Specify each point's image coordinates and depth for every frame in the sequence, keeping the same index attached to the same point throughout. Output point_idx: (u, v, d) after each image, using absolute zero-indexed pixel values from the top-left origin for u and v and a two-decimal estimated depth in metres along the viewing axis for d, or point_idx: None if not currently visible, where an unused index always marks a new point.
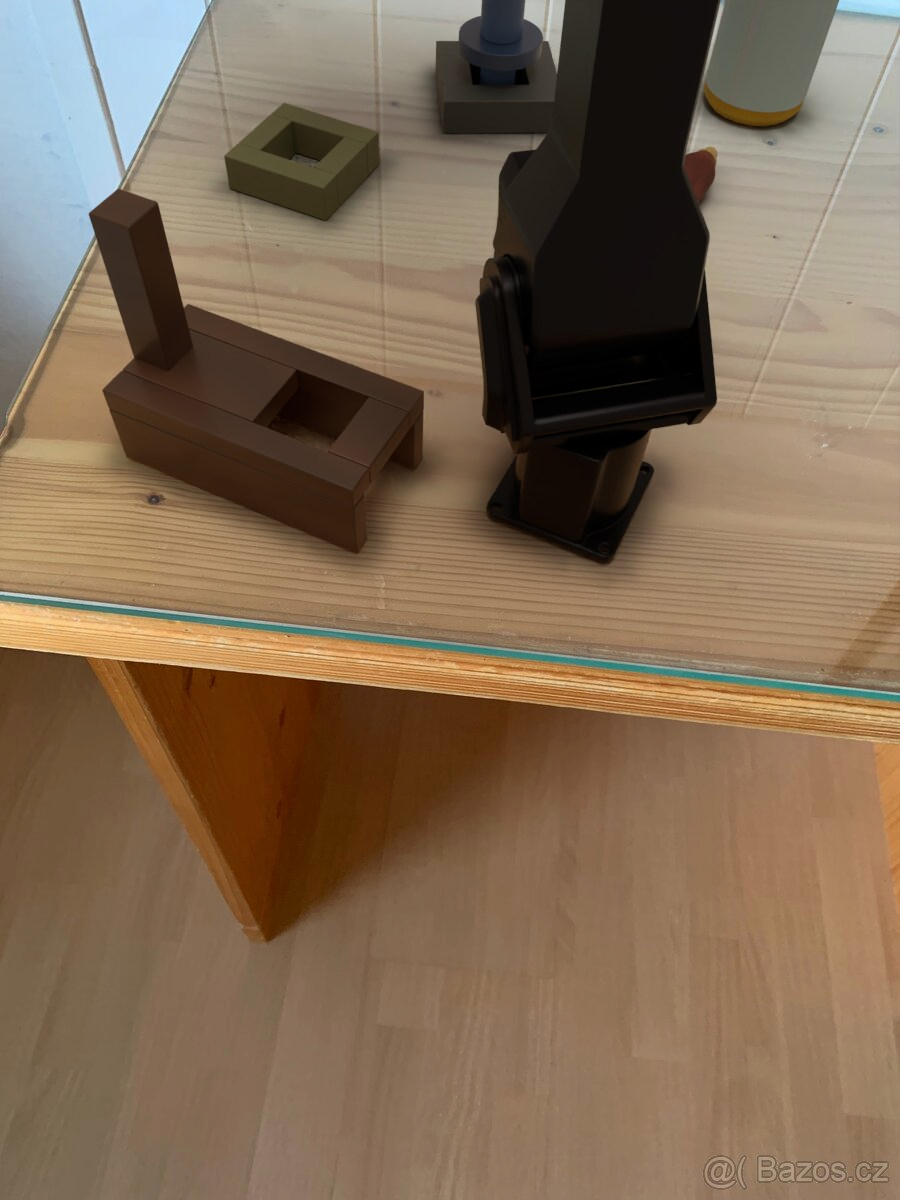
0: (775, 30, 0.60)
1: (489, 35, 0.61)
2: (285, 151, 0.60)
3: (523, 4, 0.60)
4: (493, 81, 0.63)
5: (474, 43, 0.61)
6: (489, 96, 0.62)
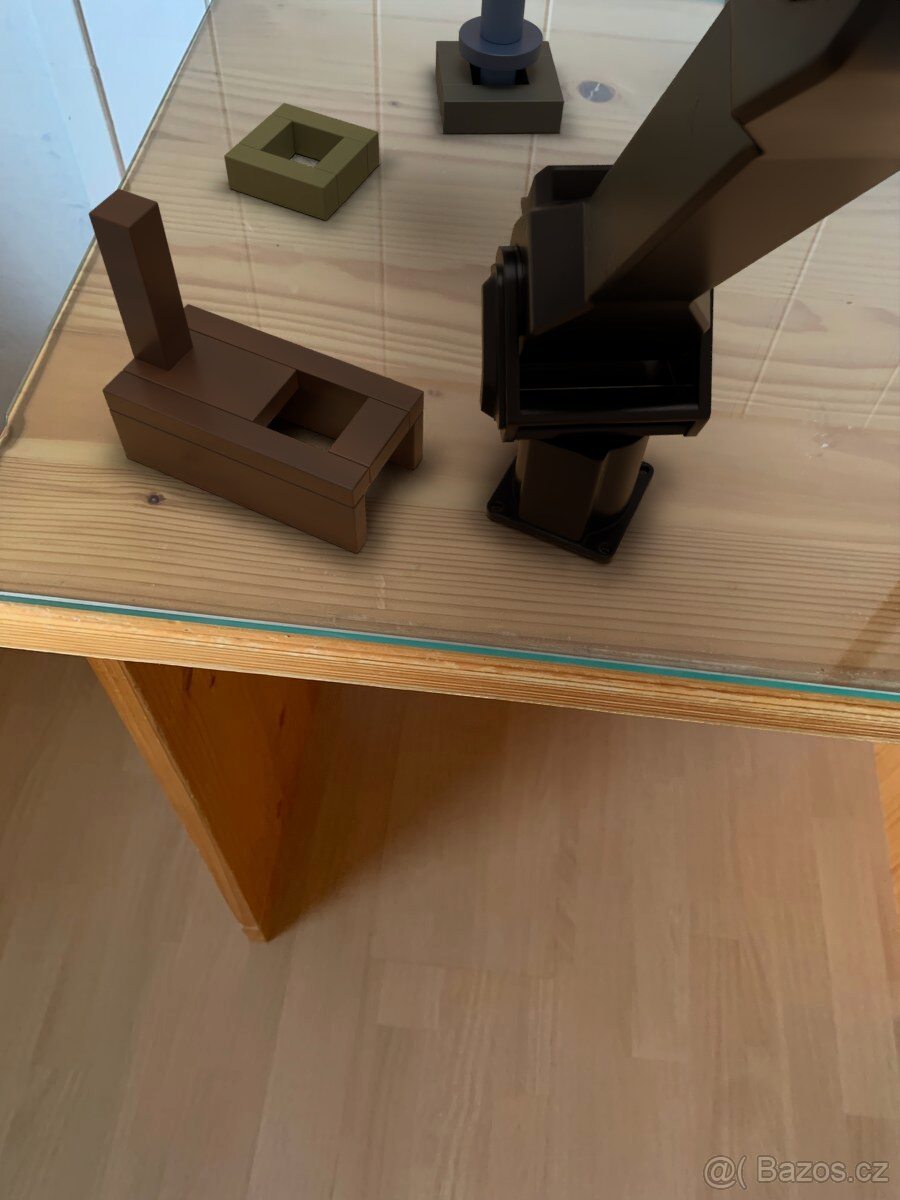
0: None
1: (489, 35, 0.61)
2: (285, 151, 0.60)
3: (523, 4, 0.60)
4: (493, 81, 0.63)
5: (474, 43, 0.61)
6: (489, 96, 0.62)
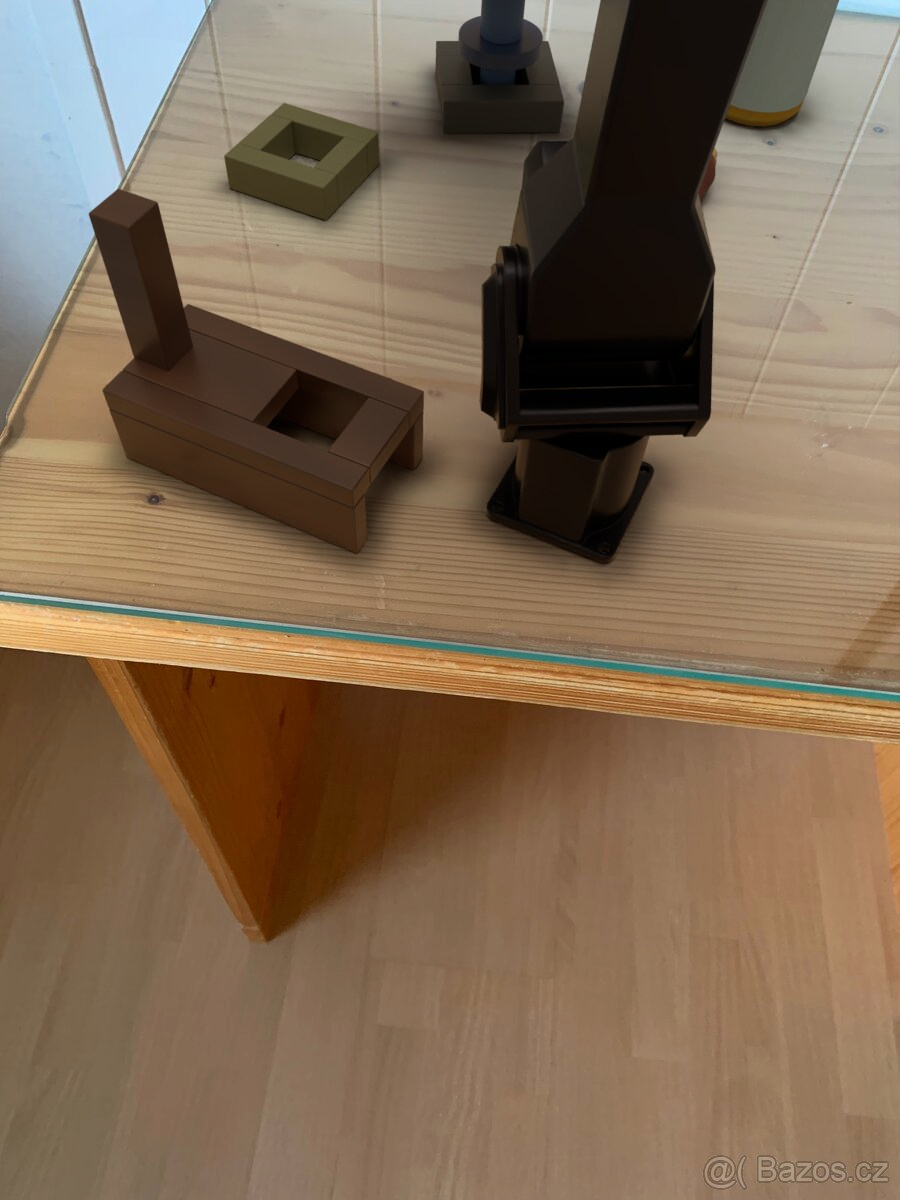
0: (775, 30, 0.60)
1: (489, 35, 0.61)
2: (285, 151, 0.60)
3: (523, 4, 0.60)
4: (493, 81, 0.63)
5: (474, 42, 0.61)
6: (489, 96, 0.62)
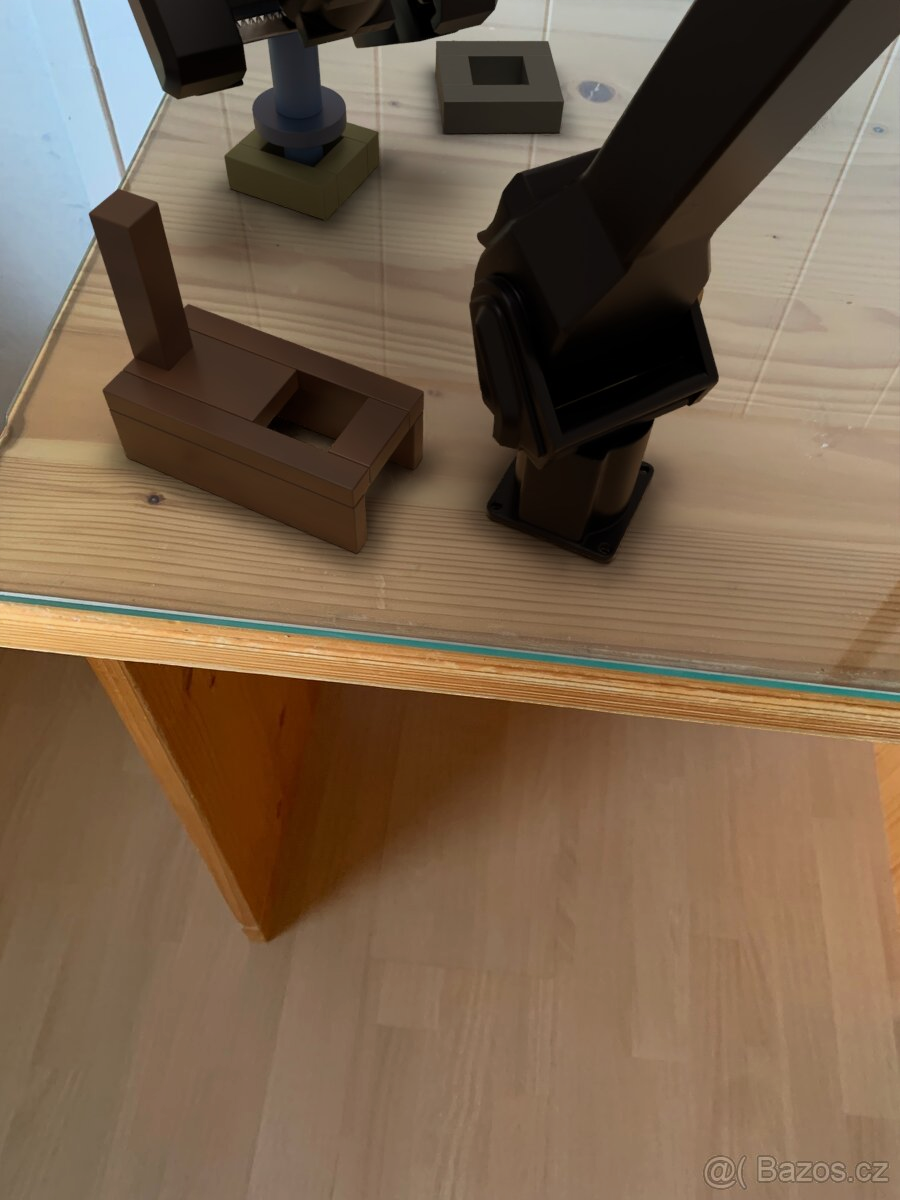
0: None
1: (292, 112, 0.55)
2: None
3: (319, 71, 0.54)
4: (305, 157, 0.58)
5: (278, 123, 0.55)
6: (489, 96, 0.62)
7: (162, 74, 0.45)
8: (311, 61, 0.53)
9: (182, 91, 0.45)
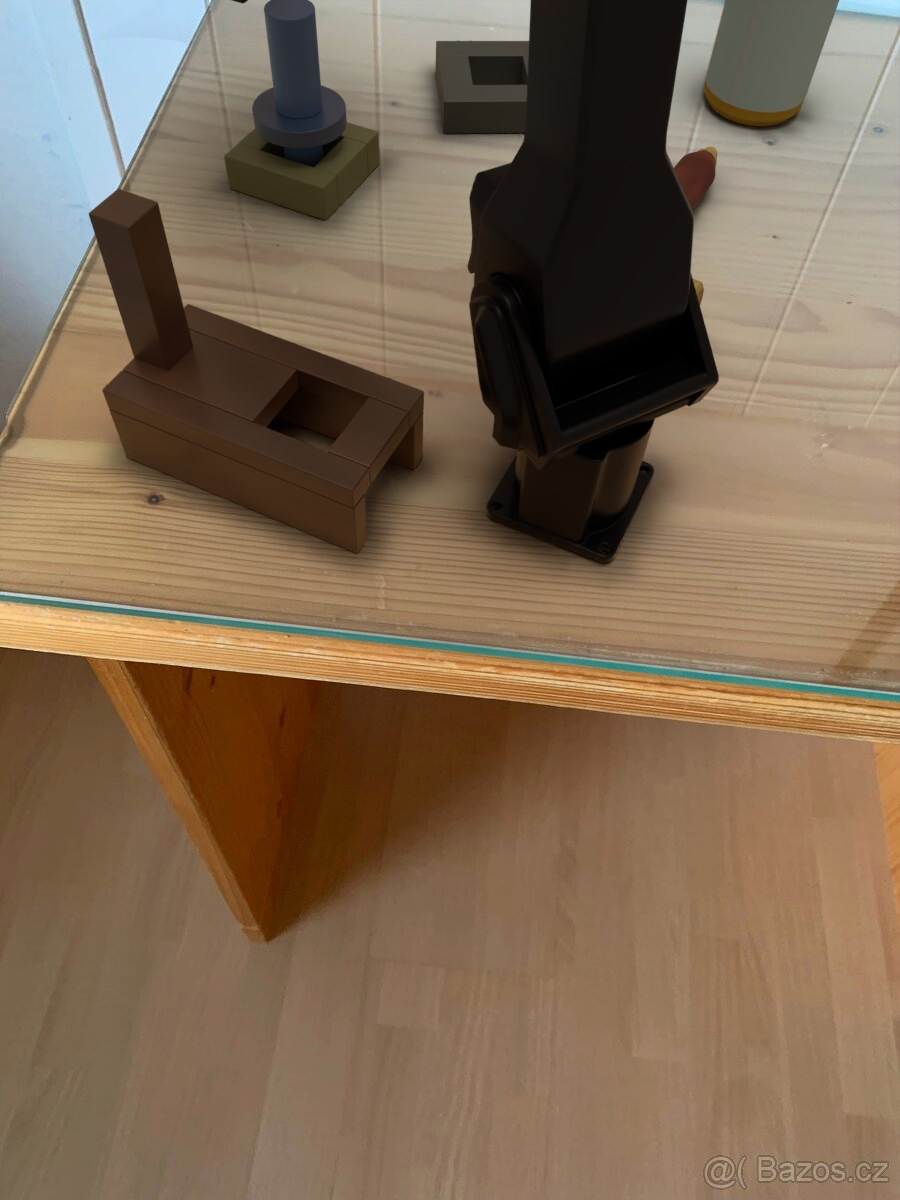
0: (775, 30, 0.60)
1: (292, 112, 0.55)
2: None
3: (319, 71, 0.54)
4: (305, 157, 0.58)
5: (278, 123, 0.55)
6: (489, 96, 0.62)
7: None
8: (311, 61, 0.53)
9: None
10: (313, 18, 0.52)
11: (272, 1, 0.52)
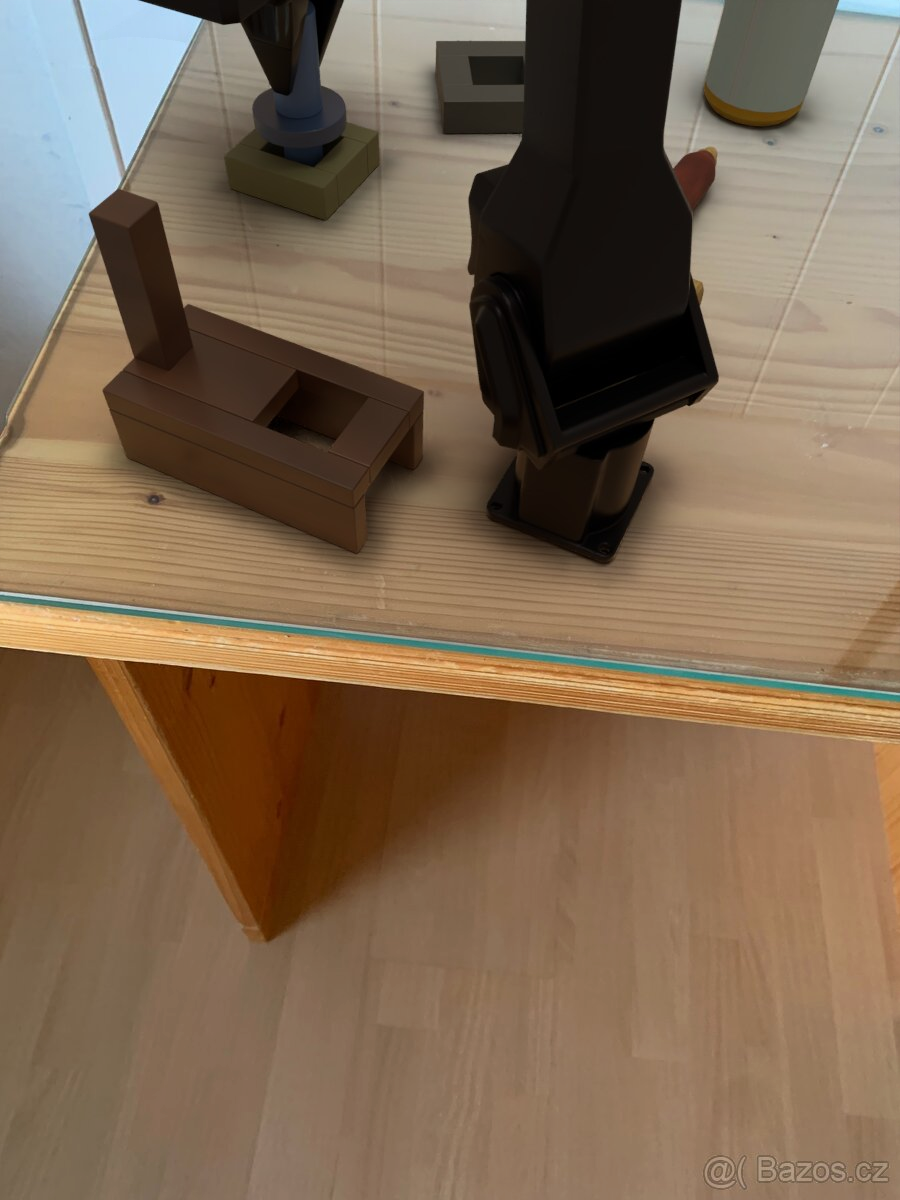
0: (775, 30, 0.60)
1: (292, 112, 0.55)
2: None
3: (319, 71, 0.54)
4: (304, 157, 0.58)
5: (278, 123, 0.55)
6: (489, 96, 0.62)
7: None
8: (311, 61, 0.53)
9: None
10: (313, 18, 0.52)
11: None
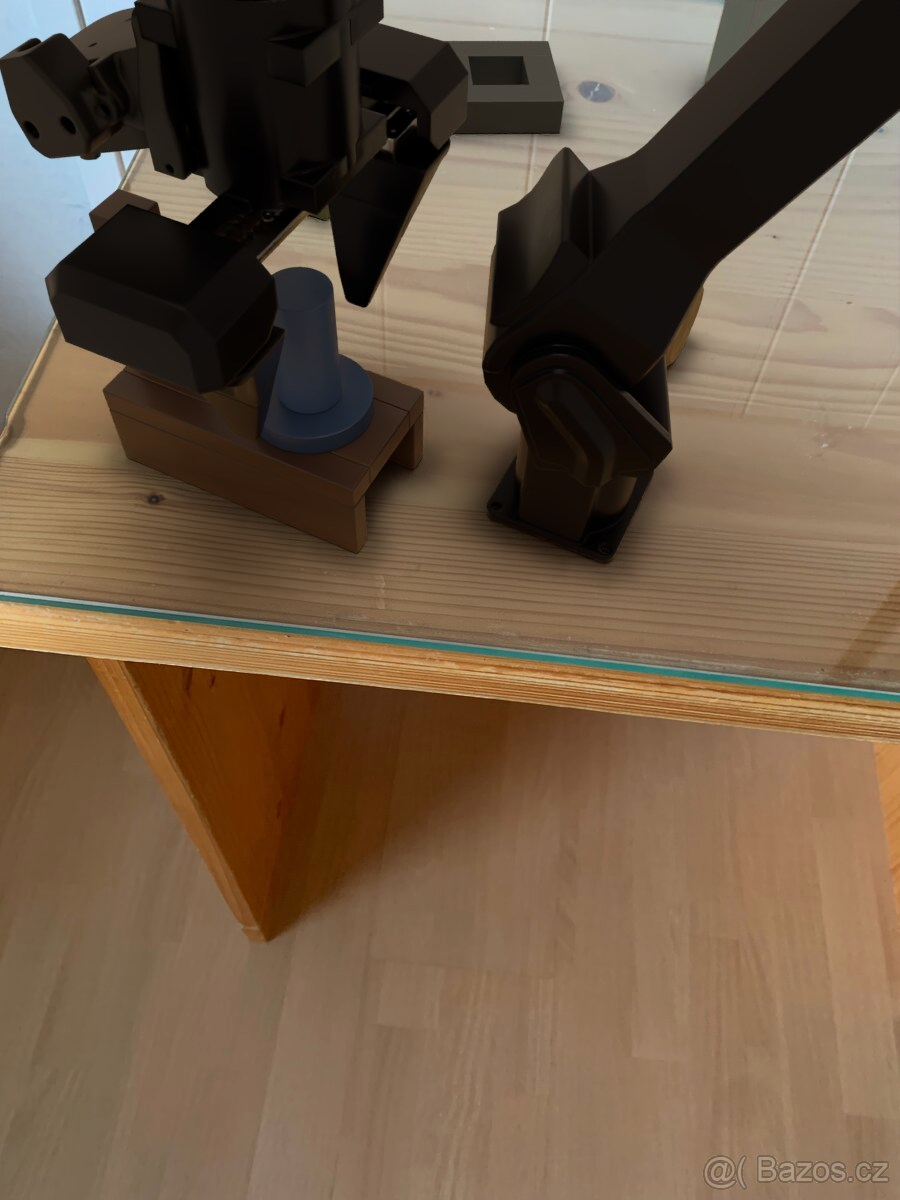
0: None
1: (300, 407, 0.40)
2: None
3: (338, 355, 0.40)
4: None
5: (281, 423, 0.40)
6: (489, 96, 0.62)
7: (183, 362, 0.28)
8: (328, 352, 0.38)
9: (221, 361, 0.28)
10: (331, 303, 0.37)
11: None
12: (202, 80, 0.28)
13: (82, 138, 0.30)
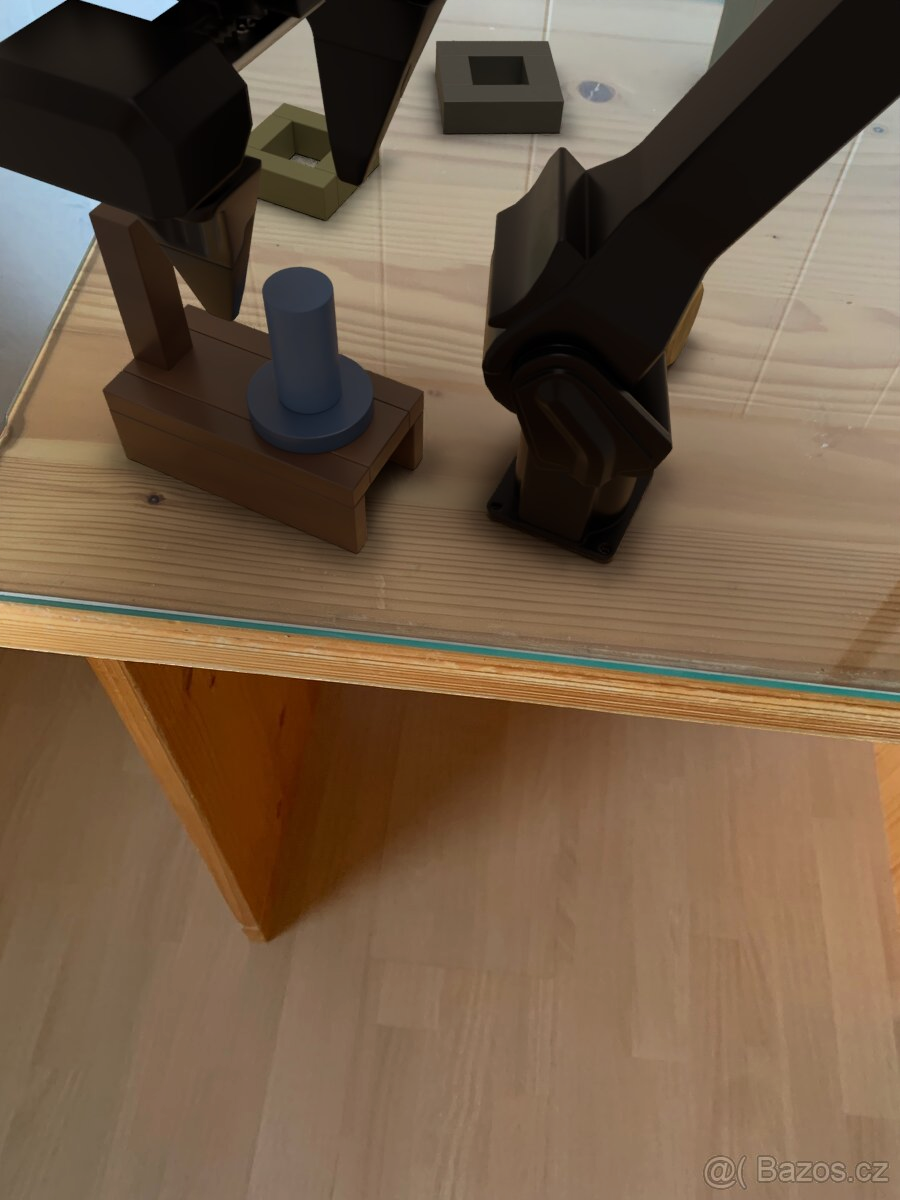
0: None
1: (300, 407, 0.40)
2: (285, 151, 0.60)
3: (338, 355, 0.40)
4: None
5: (281, 423, 0.40)
6: (489, 96, 0.62)
7: (134, 175, 0.23)
8: (328, 352, 0.38)
9: (181, 176, 0.23)
10: (331, 303, 0.37)
11: (273, 277, 0.37)
12: None
13: None
